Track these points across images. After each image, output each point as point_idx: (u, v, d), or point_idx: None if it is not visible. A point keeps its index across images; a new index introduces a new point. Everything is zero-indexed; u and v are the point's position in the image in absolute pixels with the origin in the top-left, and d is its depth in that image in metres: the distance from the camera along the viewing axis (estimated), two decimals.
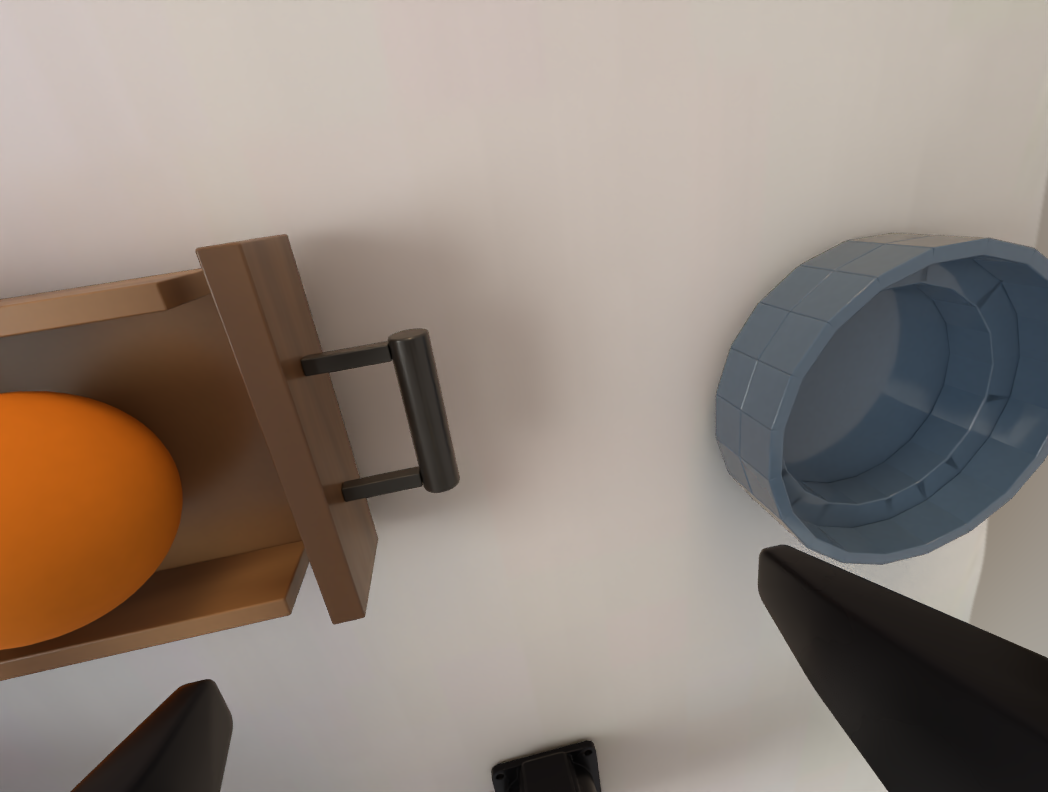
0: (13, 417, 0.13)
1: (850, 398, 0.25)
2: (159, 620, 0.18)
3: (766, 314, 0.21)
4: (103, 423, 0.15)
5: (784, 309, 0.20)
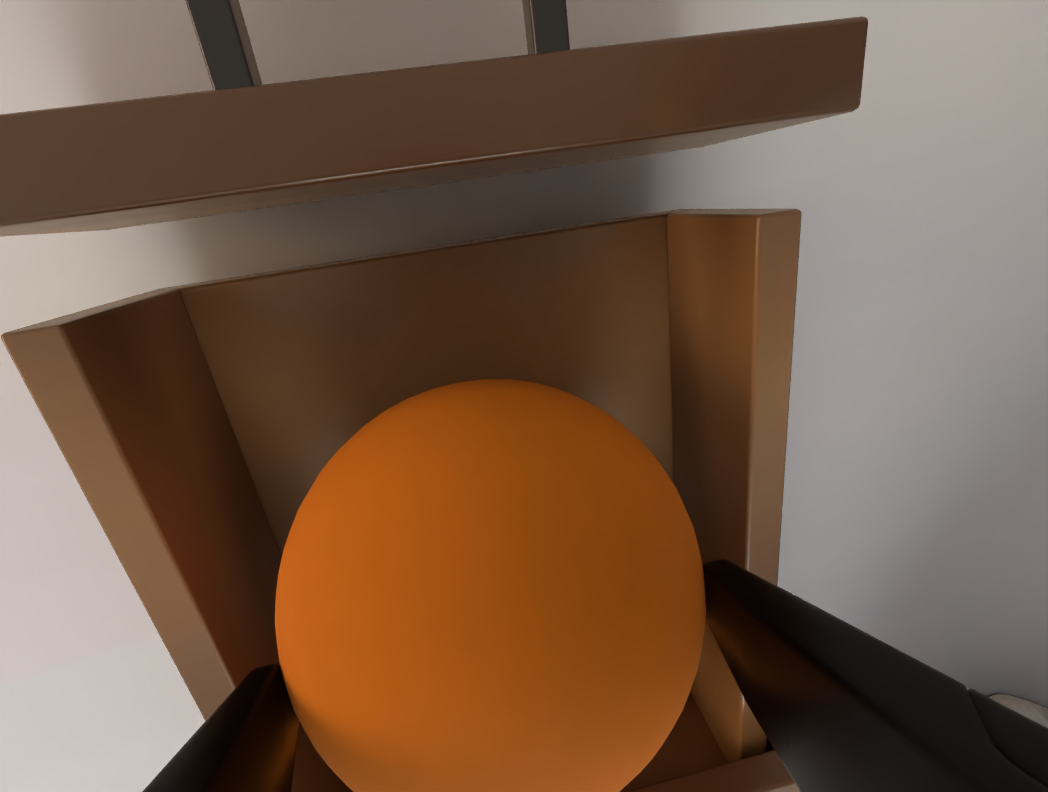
0: (278, 580, 0.08)
1: None
2: (739, 447, 0.10)
3: None
4: (327, 465, 0.08)
5: None
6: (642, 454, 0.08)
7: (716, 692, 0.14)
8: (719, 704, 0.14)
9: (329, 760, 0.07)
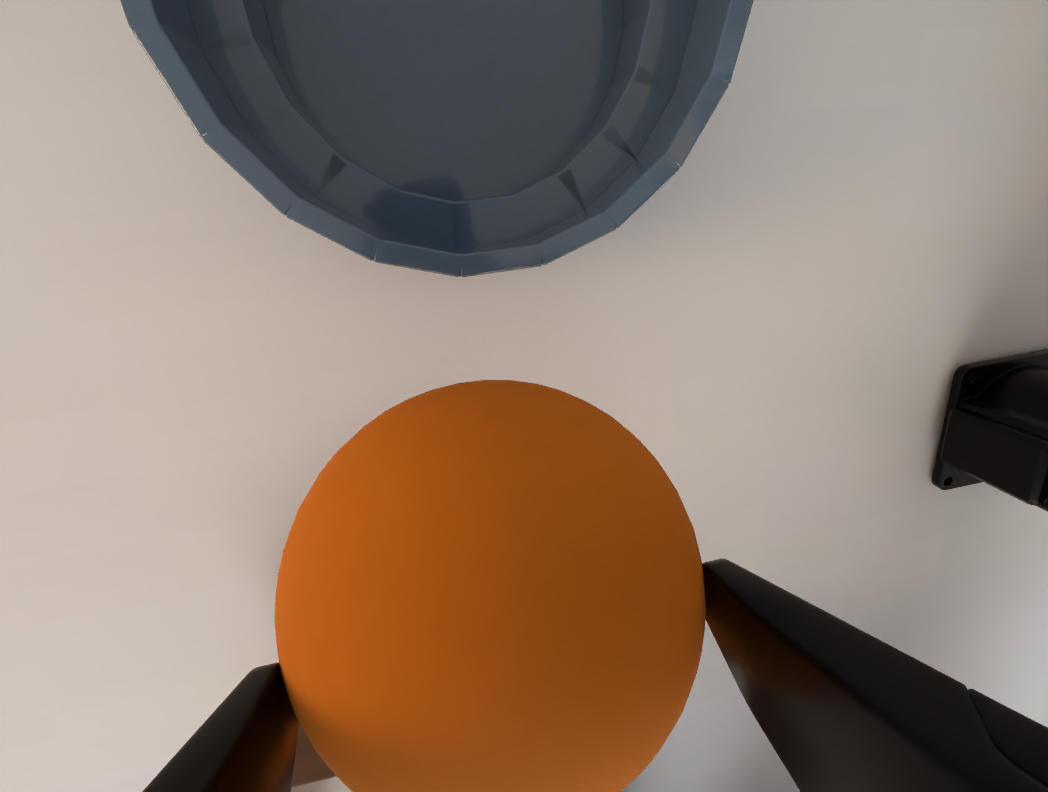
0: (278, 581, 0.08)
1: (472, 7, 0.15)
2: None
3: None
4: (327, 465, 0.08)
5: None
6: (642, 456, 0.08)
7: None
8: None
9: (328, 761, 0.07)
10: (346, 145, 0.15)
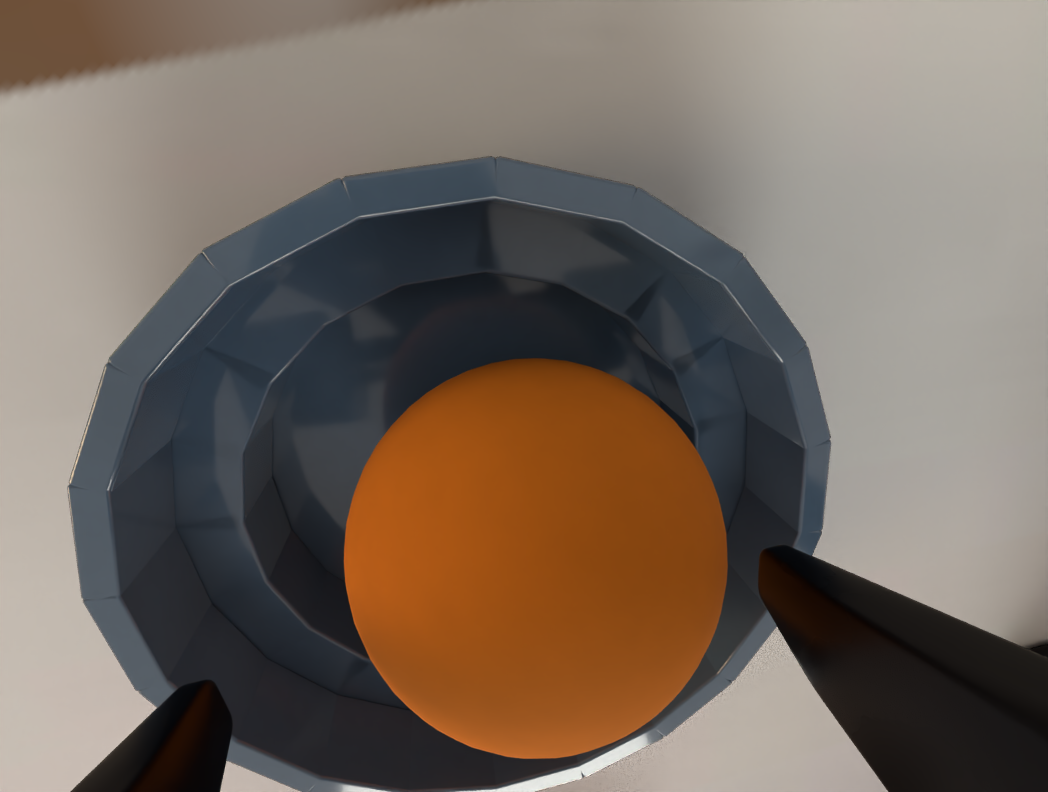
0: (358, 554, 0.08)
1: None
2: None
3: None
4: (387, 443, 0.09)
5: None
6: (661, 408, 0.10)
7: None
8: None
9: (442, 702, 0.07)
10: None
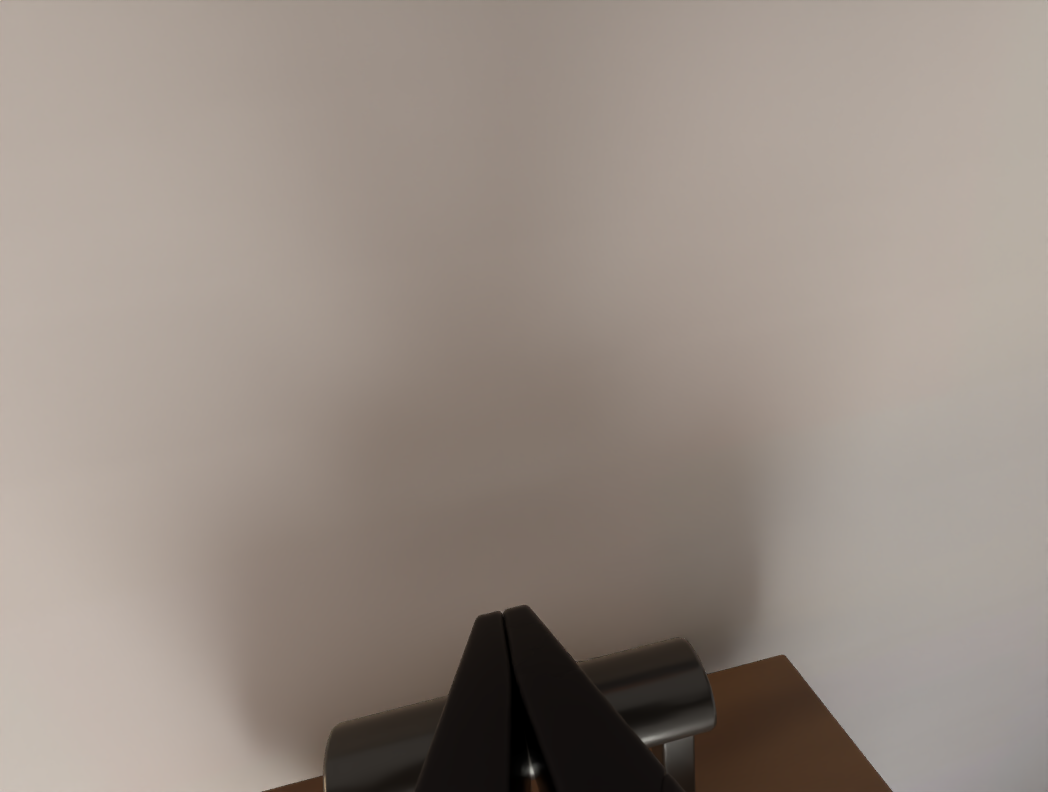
0: None
1: None
2: None
3: None
4: None
5: None
6: None
7: None
8: None
9: None
10: None
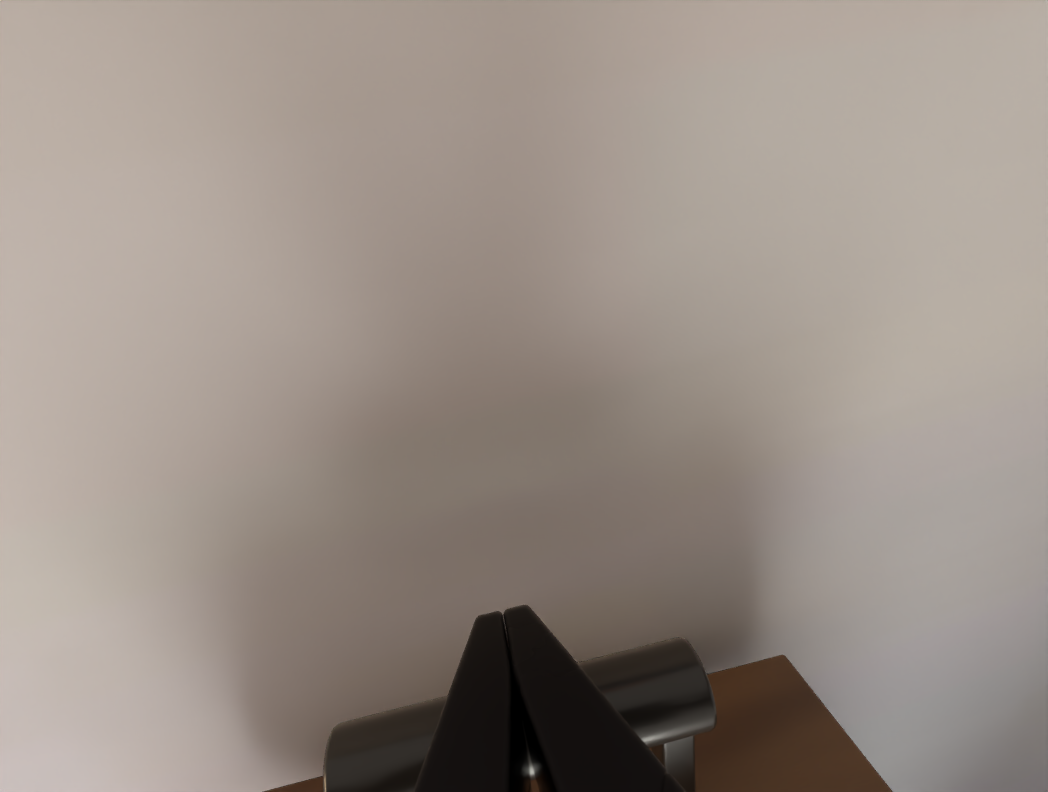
0: None
1: None
2: None
3: None
4: None
5: None
6: None
7: None
8: None
9: None
10: None
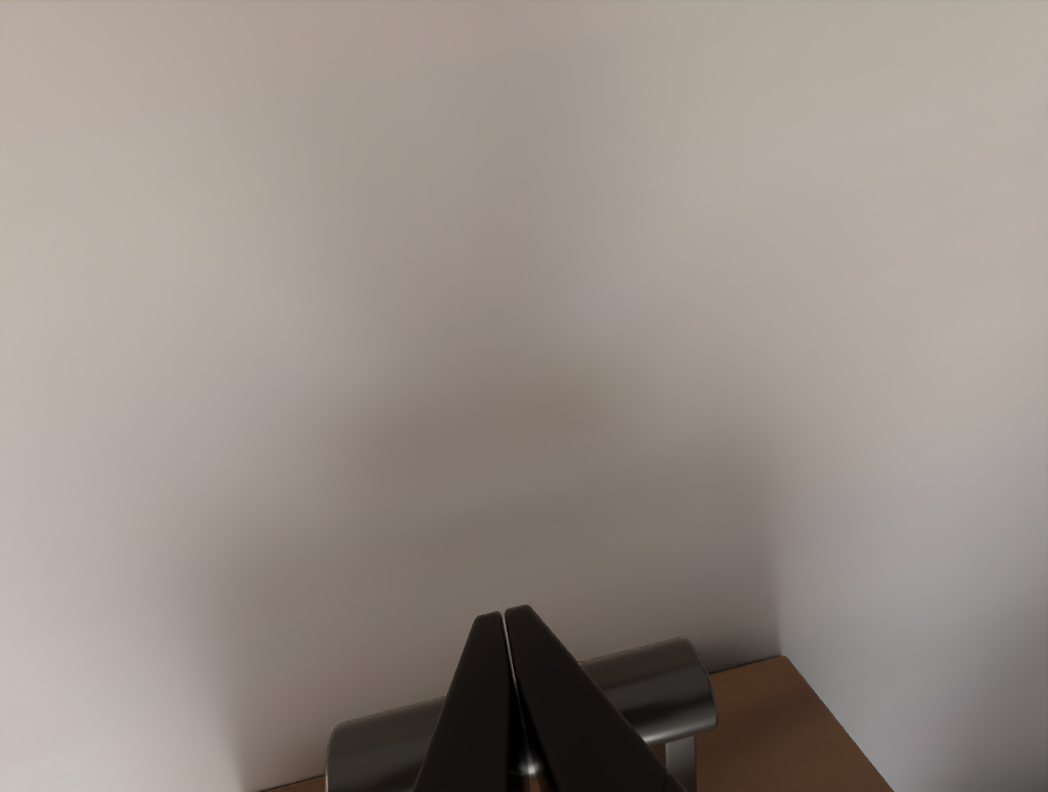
0: None
1: None
2: None
3: None
4: None
5: None
6: None
7: None
8: None
9: None
10: None
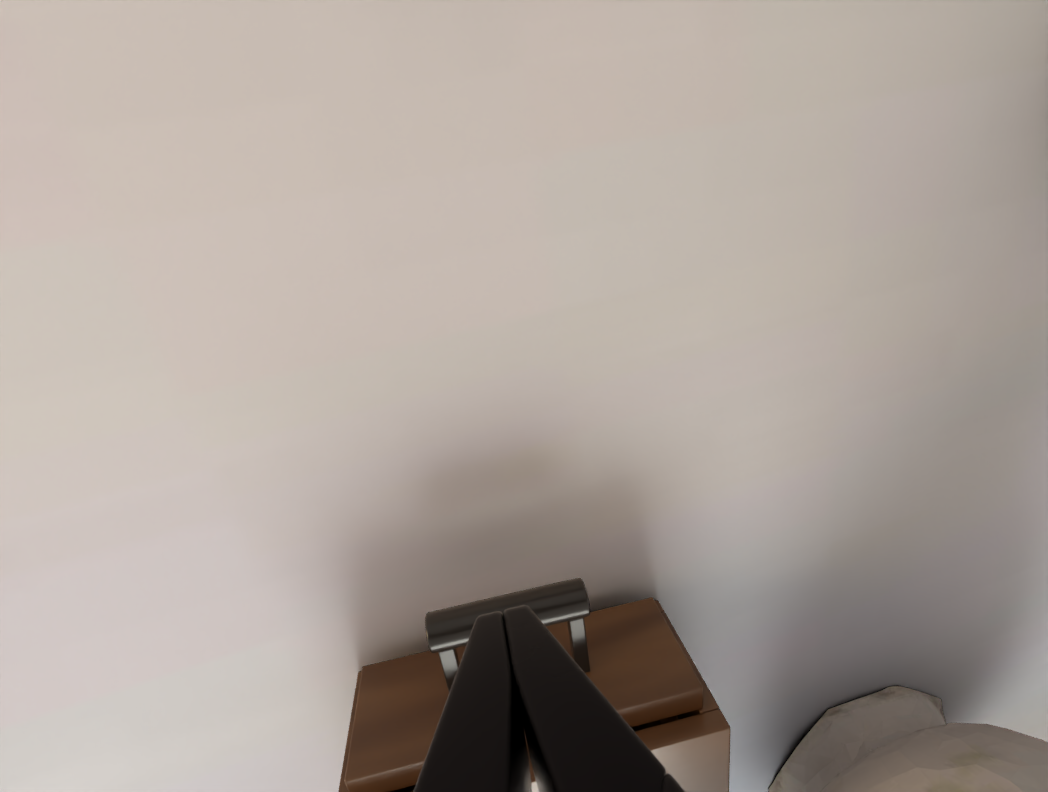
0: None
1: None
2: None
3: None
4: None
5: None
6: None
7: None
8: None
9: None
10: None
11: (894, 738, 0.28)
